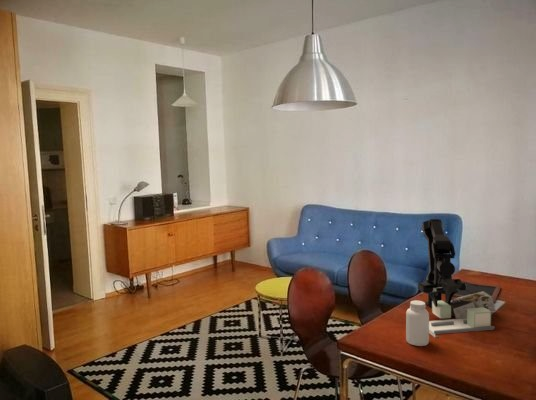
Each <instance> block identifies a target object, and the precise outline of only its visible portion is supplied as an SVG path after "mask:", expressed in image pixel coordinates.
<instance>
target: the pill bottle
mask: <svg viewBox="0 0 536 400" xmlns="http://www.w3.org/2000/svg"><path fill="white" fill-rule="evenodd" d="M425 302H426V301H423V300H411V301H410V304H409V308H407V310H406V312H405V317H406V318H405V321H406V322H405V324H406V325H405V334H406V335H405V340H406V342H407V343H408V344H409V345H412V346H414V347H415V346H416V347H423V346H427V345H428V344H429V343H430V333H429V321H430V313H429V311H428V310H427V309H426V306H427V305H426V304H425Z"/></svg>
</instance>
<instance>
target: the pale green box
mask: <svg viewBox="0 0 536 400" xmlns="http://www.w3.org/2000/svg"><path fill="white" fill-rule="evenodd" d="M431 313H432V314H434V315H435V316H436V317H437V318H439V320H446V319H451V318H452V314H451V306H450V305H449V304H447V303H446V301H444V300H443V299H442V300H440V301H437V307H435V305H434V303H433V301H432V308H431Z"/></svg>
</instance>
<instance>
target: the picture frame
mask: <svg viewBox="0 0 536 400" xmlns="http://www.w3.org/2000/svg"><path fill="white" fill-rule="evenodd" d="M461 281H462V280H461ZM462 282H464V283H465V284H466V290H459V289H458V288H457V291H459V292H457V293H455V294H454V295H453V297H452V298H458V297H462V296H466V295H470V294H474V293H478V292H485V293H487V294H488V295H490V296H492V299H493V303H494V302H495V303H496V300H497V298H498V296H499V293H500V291H501V285H500V286H499V285H492V284H484V283H477V282H470V281H469V282H468V281H462ZM495 303H494V304H495Z"/></svg>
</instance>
